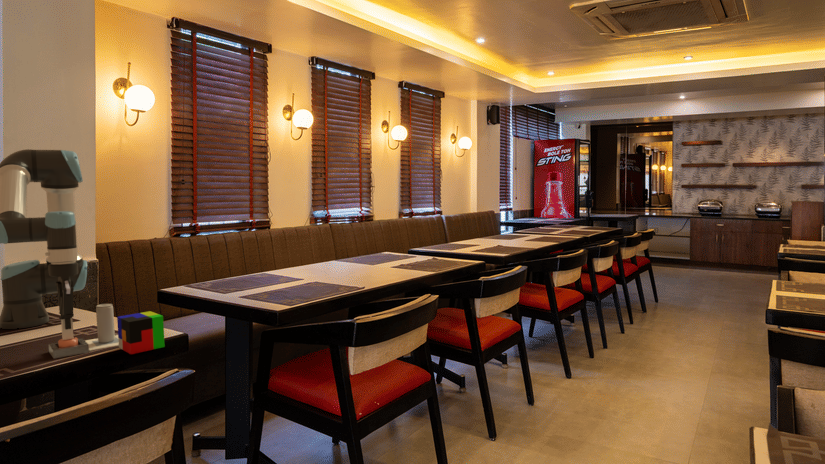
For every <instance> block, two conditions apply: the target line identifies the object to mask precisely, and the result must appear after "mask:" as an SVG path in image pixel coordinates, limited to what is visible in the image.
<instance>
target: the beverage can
mask: <svg viewBox="0 0 825 464" xmlns="http://www.w3.org/2000/svg"><path fill="white" fill-rule="evenodd" d="M95 312H96V313H95V314H96V329H97V330H96V331H97V332H96V333H97V338H98V341H99V342H100V343H109V342H112V341H114V340H115V335H116V334H115V333H116V331H115V317H114V316H115V315H114V306H113V303H101V304H98V305H96V308H95Z"/></svg>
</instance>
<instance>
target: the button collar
mask: <svg viewBox="0 0 825 464" xmlns="http://www.w3.org/2000/svg"><path fill="white" fill-rule="evenodd" d="M48 353H49V354H50V356H51V357H52V359H54V360H55V359H60V358H65V357H72V356H76V355H77V356H78V355H81V354H83V355H84V354H88V353H90V351H89V346H88V343H87V342H86V341H85V339H84V338H83V337H82V338H78V345H75V346H69V347H63V348H59V344H58V342H53V343H48Z"/></svg>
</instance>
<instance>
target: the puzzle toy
mask: <svg viewBox="0 0 825 464" xmlns="http://www.w3.org/2000/svg"><path fill="white" fill-rule="evenodd" d="M116 321H117V335H118V341H119V346H118V348H119V349H121V350H123V351H124V352H126V353H127V354H129V355H136V354H139V353H143V352H149V351H152V350H156V349H157V350H158V349H161V348H165V347H166V345H165V331H164V330H165V327H164V326H165V325H164V316H163V315H162V314H159V313H156V312H154V311H150V310H149V311H144V312H136V313H132V314H126V315H120V316H117V317H116Z"/></svg>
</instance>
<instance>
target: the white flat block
mask: <svg viewBox="0 0 825 464" xmlns="http://www.w3.org/2000/svg"><path fill="white" fill-rule="evenodd" d="M84 340H85V339H84ZM85 341H86V342H87V343H88V346H89V352H91V351H97V350H101V349H102V350H104V349H107V348H113V347H114V348H115V347H119V341H118V334H115V340H114V341H112V342H109V343H100V342H99V341H98V337H97V338H93V339H86V340H85Z"/></svg>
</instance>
